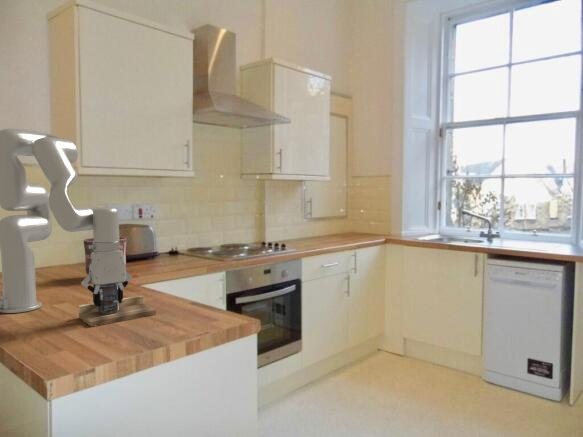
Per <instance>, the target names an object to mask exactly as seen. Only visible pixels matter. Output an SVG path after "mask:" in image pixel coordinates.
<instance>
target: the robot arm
mask: <svg viewBox="0 0 583 437" xmlns="http://www.w3.org/2000/svg"><path fill="white" fill-rule="evenodd" d="M19 156H24V157H34V158H35V159H36V162H37V163H38V165H39V167H40V168H41V170H42V172H43V174H44V176H45V178H46V180H47V182H48V183H49V185H50V189H49V192H48V191H47V189H46V188H45V187H44V186H43V185H41V184H40V183H36V182H28V181H27V177H26V176H27V175H26V174H27V173H26V169H25V167H24V166H25V165H23V163H22V161H21V159H19ZM78 157H79V150H78V148H77V146H76V144H75V143H74V142H73V141H71V140H70V139H66V138H64V137H60V136H59V137H58V136H56V135H52V134H48V133H45V132H41V131H33V130H28V129H27V130H26V129H21V128H3V129H0V207H1V209H3V210H4V211H7V212H26V214H15V215H13V214H12V215H9V216H6V217H3V218H2V219H0V259H1V260H0V261H1V263H0V264H1V274H2V276H1V277H2V278H1V281H2V295H1V296H0V313H2V314H17V313H25V312H30V311H34V310H37V309H39V308H41V307H42V306H43V304H42V302H41V301H39V300H37V287H36V286H37V285H36V284H37V283H36V265H35V264H36V263H35V262H36V261H35V254H34V251H33V249H32V248H31V246H30V244H29V243H33V242H40V241H44V240H46V239H47V238H49V237H50V236H51V233H52V229H53V222H52V221H53V220H52V215H53V217H54V219H55V220H56V222H57V224H58V226H60V228H62V229H63V230H64V231H66V232H69V233H73V232H74V233H76V232H83V231H85V232H86V231H92V235H93V236H92V238H93V244H91V245H89V249H93V250H94V252H92V253H91V259H90V269H89V274H88V275H87V274H86V277H85V278H83V279H82V281H80V284H81V285H82V286H84V288H86V289H87V290H89V291H90V292H91V293H92V303H94V304H95V305H96V306H97V307H99V306H100V294H99V293H98V291H99V288H100V285H106V284H113V283H117V284H118V302H119V303H122V299H123V298H124V290H125V288H126V287H127V286H128V284H129V283H130V282H131V281H132V280H133V276H132V275H131V273H129V272H128V271H127V268H125V260H124V255H123V251H122V250H120V245H119V237H120V216H119V210H118V208H116V207H98V206H74V205H73V204H72V202H71V201H70V199H69V196H68V194H67V189H68V188H70V187H71V186H73V185H74V184H75V183H76V181H78V178H79V175H78V172H77V171H76V170H75V168H74V166H73V165H72V164H73V163H75V162H77V160H78ZM89 282H90V283H92V284H93V285H91V284H89Z"/></svg>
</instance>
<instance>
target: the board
mask: <svg viewBox="0 0 583 437" xmlns="http://www.w3.org/2000/svg"><path fill="white" fill-rule="evenodd" d="M118 304H119V310H118V311H117V312H114V313H107V314H103V313H99V310H98V307H97V306H96V305H95V304H94V303H93V302H92V303H86V304H81V305H80V304H79V305H78V318H79V320H81V319H82V320H83V321H82V320H81V321H82V322H83V323H85V322H86V323H87V324H88V325H87V324H86V323H85V324H86V325H87V326H89V325H90V326H94V327H96V326H95V325H99V326H104V325H109V324H114V322H115V323H119V321H120V322H124V321H130V320H134V319H140V318H145V317H150V316H155V315H157V310H156V308H155V309H154V308H153V307H151V306H149V305H147V304H146V303H145V304H144V295H137V296H136V295H135V296H130V297H123V299H122V303H119V302H118ZM108 323H109V324H108ZM103 324H104V325H103ZM90 326H89V327H90Z"/></svg>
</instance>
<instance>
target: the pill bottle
mask: <svg viewBox="0 0 583 437" xmlns="http://www.w3.org/2000/svg"><path fill="white" fill-rule="evenodd" d="M98 293H99V294H100V306H99V307H98V310H99V313H103V314H107V313H114V312H117V311H118V310H119V304H118V284H117V283H113V284H106V285H100V288H99V291H98Z"/></svg>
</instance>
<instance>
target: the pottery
mask: <svg viewBox="0 0 583 437" xmlns="http://www.w3.org/2000/svg"><path fill="white" fill-rule="evenodd" d="M127 241H128V240H127V237H123V236H119V245H120V250H122V251H123V255H124V260H125V268H126V267H127V260H126V259H127V258H126V253H127V252H126V251H127V250H126V247H127ZM91 244H93V237H91V238H85V239H83V247H84V257H85V259H84V260H85V262H84V263H85V264H84V265H85V273H86V276H87V275H88V274H89V269H90V259H91V253H92V252H94V250H93V249H89V245H91ZM126 269H127V268H126Z"/></svg>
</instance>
